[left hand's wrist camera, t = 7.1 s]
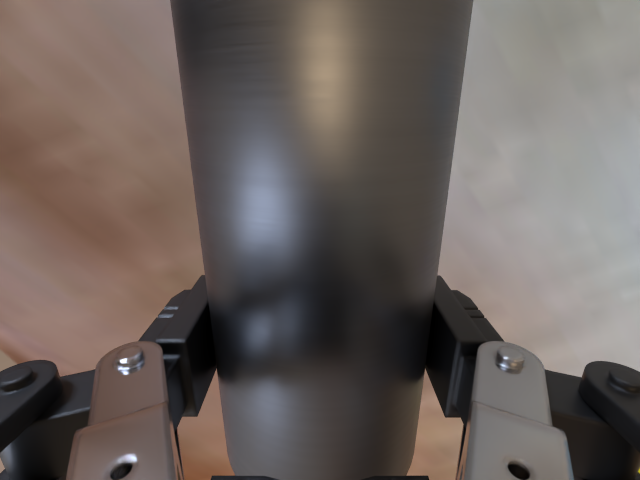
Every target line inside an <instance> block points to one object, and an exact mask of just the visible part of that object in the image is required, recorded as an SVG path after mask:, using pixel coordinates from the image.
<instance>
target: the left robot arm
mask: <svg viewBox="0 0 640 480" xmlns="http://www.w3.org/2000/svg"><path fill="white" fill-rule="evenodd" d="M216 368H217V365H216V357H215V350H214V342H213V334H212V326H211V318H210V310H209V302H208V294H207V286H206V278H205V275H202V276H201V277H200V278H199V279H198V281H197V282H196V284H195V285H194V286H193V288H192V289H191V290H184V291H182V292H181V293H179V294H177V295H176V296H174V297H173V298H172V299H171V300H170V301H169V302H168V304H167V305H166V306H165V307H164V309H163V310H162V311H161V313H160V314H159V315H158V318H156V319H155V320H154V322H153V323H152V324H151V325H150V327H149V328H148V329H147V330H146V332H145V333H144V334H143V336H142V337H141V338H140V339H139V341H138V342H132V343H128V344H125V345H122V346H120V347H117V348H115V349H113V350H112V351H110V352H109V353H107V354H106V355H105V356H104V357H102V358H101V360H100V361H99V362H98V364H97V366H96V369H95V370H91V371H86V372H82V373H77V374H72V375H67V376H62V377H60V376H59V373H58V370H57V367H56V365H55V364H54V363H53V362H51V361H47V360H34V361H28V362H24V363H21V364H17V365H14V366H12V367H9V368H7V369H5V370H3V371H1V372H0V458H1V460H2V463H3V465H4V467H5V469H4V470H3V471H2V472H1V473H0V480H185V478H184V471H183V464H182V457H181V449H180V442H179V435H178V430H177V427H178V425H179V422H180V420H181V418H182V417H197V416H198V413H199V411H200V408H201V406H202V403H203V401H204V398H205V396H206V393H207V391H208V388H209V386H210V383H211V381H212V378H213V376H214V373H215V371H216ZM425 369H426V371H427V373H428V376H429V378H430V381H431V383H432V386H433V388H434V391H435V393H436V396H437V398H438V401H439V403H440V406H441V408H442V411H443V413H444V415H445V417H461V419H462V421H463V424H464V425H463V430H462V435H461V442H460V449H459V457H458V464H457V471H456V478H455V480H640V473H639V472H638V471H639V469H640V372H638V371H636V370H634V369H632V368H629V367H627V366H624V365H621V364H617V363H613V362H606V361H595V362H591V363H589V364H587V365H586V367H585V369H584V372H583V375H582V378H581V377H577V376H572V375H567V374H562V373H558V372H553V371H549V370H545V369H544V366H543V364H542V362H541V361H540V360H539V358H538V357H536V356H535V355H534V354H533V353H531V352H530V351H528V350H527V349H525V348H523V347H520V346H518V345H515V344H512V343H508V342H504V340H503V339H502V338H501V337H500V335H499V334H498V333H497V332H496V330H495V329H494V328H493V327H492V325H491V324H490V323H489V321H488V320H487V319H486V318H484V315H483V314H482V313H481V311H480V310H478V308H477V306H476V305H475V304H474V303H473V301H472V300H471V299H470V298H469V297H467V296H466V295H464V294H462V293H461V292H459V291H458V290H451V289H450V288H449V287H448V285H447V284H446V283H445V281H444V280H443V278H442V277H441V276H439V275H437V280H436V288H435V296H434V303H433V311H432V318H431V326H430V334H429V341H428V349H427V357H426V364H425ZM211 480H279V479H275V478H271V477H268V476H212V478H211ZM361 480H429V478H428V476H372V477H369V478H365V479H361Z"/></svg>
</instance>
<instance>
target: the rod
mask: <svg viewBox="0 0 640 480" xmlns="http://www.w3.org/2000/svg"><path fill="white" fill-rule="evenodd" d="M170 2H171V10H172V17H173V25H174V33H175V41H176V49H177V57H178V65H179V73H180V81H181V89H182V96H183V104H184V112H185V120H186V128H187V136H188V144H189V152H190V160H191V168H192V176H193V183H194V191H195V199H196V207H197V215H198V223H199V231H200V239H201V247H202V255H203V263H204V270H205V278H206V286H207V294H208V302H209V310H210V318H211V326H212V334H213V342H214V350H215V357H216V365H217V373H218V381H219V389H220V397H221V405H222V413H223V421H224V429H225V436H226V444H227V452H228V457H229V460H230V464H231V467H232V469H233V471H234V473H235V475H236V476H268V477H271V478H275V479H279V480H361V479H365V478H369V477H372V476H406V475H407V472H408V470H409V468H410V465H411V462H412V458H413V455H414V448H415V441H416V433H417V425H418V418H419V410H420V402H421V395H422V387H423V380H424V372H425V364H426V357H427V349H428V341H429V334H430V326H431V318H432V311H433V303H434V296H435V288H436V280H437V273H438V265H439V257H440V250H441V242H442V234H443V227H444V219H445V212H446V204H447V196H448V189H449V181H450V173H451V166H452V158H453V150H454V143H455V135H456V128H457V120H458V112H459V105H460V97H461V89H462V82H463V74H464V66H465V59H466V51H467V44H468V36H469V28H470V21H471V13H472V5H473V0H170Z"/></svg>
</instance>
